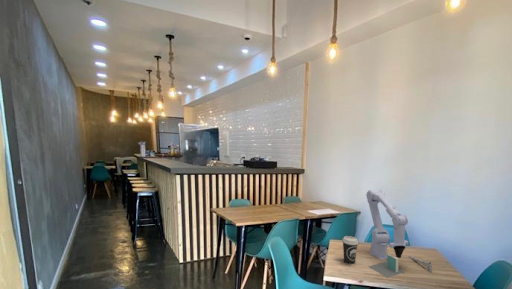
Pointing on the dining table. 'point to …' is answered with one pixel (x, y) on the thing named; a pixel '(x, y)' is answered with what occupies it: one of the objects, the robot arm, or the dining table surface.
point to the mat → (385, 270)
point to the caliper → (424, 263)
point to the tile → (392, 262)
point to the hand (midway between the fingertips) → (398, 257)
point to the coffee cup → (349, 249)
